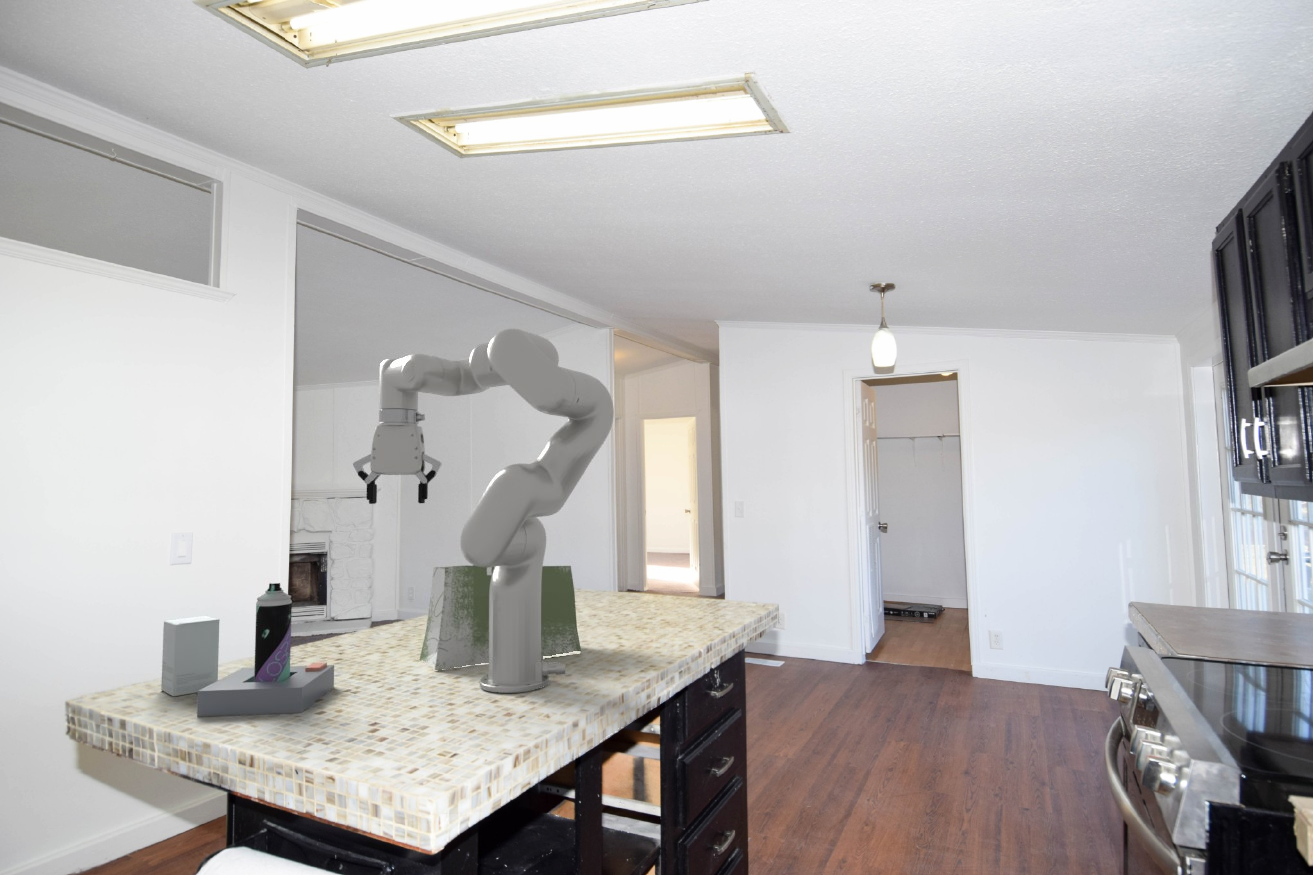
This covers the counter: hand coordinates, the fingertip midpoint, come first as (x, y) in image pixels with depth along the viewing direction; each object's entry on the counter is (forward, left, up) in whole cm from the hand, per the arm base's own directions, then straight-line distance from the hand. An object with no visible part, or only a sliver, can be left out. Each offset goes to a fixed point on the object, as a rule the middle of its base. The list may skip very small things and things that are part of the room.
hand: (397, 503), depth 152 cm
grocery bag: (-20, -10, -34) cm, 40 cm away
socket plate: (+16, +20, -33) cm, 42 cm away
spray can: (+16, +20, -34) cm, 42 cm away
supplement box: (+34, +10, -34) cm, 49 cm away
